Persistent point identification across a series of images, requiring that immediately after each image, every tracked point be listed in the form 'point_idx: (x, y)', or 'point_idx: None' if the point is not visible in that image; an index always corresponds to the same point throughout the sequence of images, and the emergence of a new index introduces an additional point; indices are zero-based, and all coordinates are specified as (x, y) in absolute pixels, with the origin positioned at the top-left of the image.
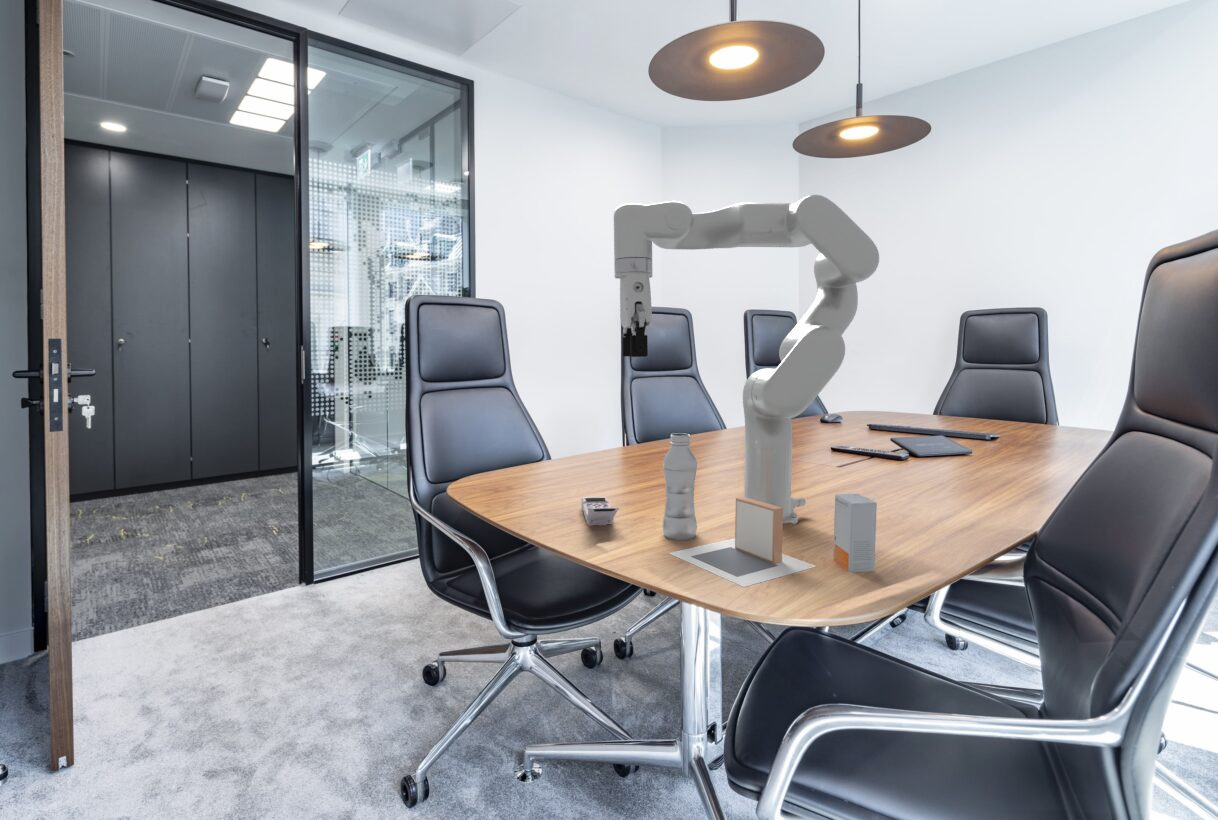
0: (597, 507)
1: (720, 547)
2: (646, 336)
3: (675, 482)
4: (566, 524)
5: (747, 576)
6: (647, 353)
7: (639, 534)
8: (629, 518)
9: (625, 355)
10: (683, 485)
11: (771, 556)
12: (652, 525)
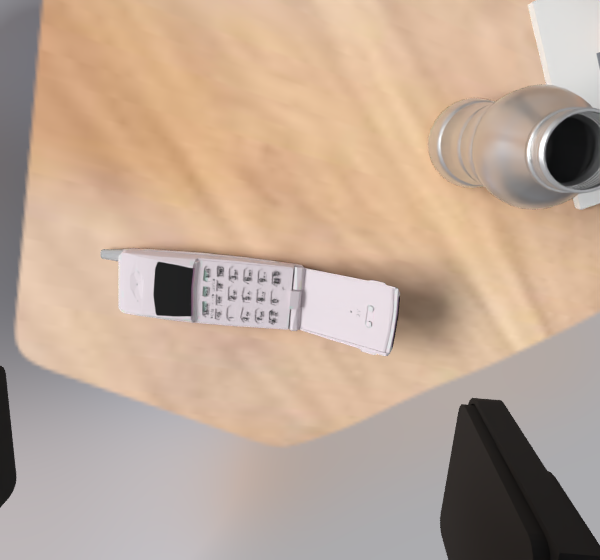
0: (232, 293)
1: (588, 78)
2: (589, 558)
3: (554, 175)
4: (275, 361)
5: None
6: (506, 409)
7: (392, 222)
8: (255, 211)
9: (15, 476)
10: (560, 150)
11: None
12: (329, 171)
